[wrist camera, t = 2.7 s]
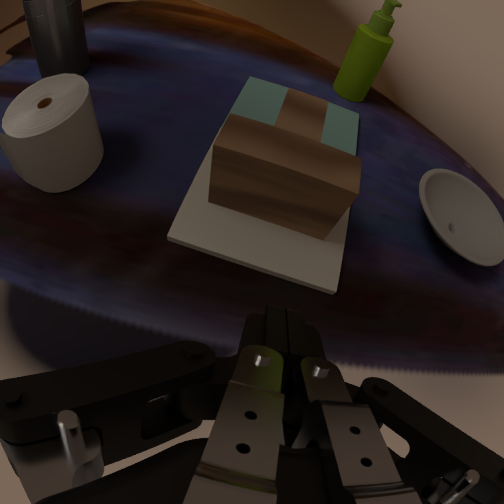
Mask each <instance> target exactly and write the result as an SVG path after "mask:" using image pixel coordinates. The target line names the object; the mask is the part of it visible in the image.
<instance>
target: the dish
mask: <svg viewBox="0 0 504 504" xmlns="http://www.w3.org/2000/svg"><path fill="white" fill-rule="evenodd" d="M419 195H420V200H421V204H422V207H423V209H424V211H425V214H426V216H427V219H428V221H429V223H430V225H431V227H432V229H433V231H434V232H435V234H436V235H437V236H438V238H439V239H440V240H441V241H442V242H443V243H444V244H445V245H446V246H447V247H448V248H449V249H451V250H452V251H453V252H455V253H456V254H458V255H460V256H462V257H464V258H465V259H467V260H469V261H470V262H473V263H475V264H478V265H481V266H494V265H497V264H499V263H500V262H501V261H502V260H503V259H504V222H503V220H502V218H501V216H500V214H499V212H498V210H497V209H496V207H495V206H494V204H493V203H492V201H491V200H490V199H489V198H488V196H487V195H486V194H485V193H484V192H483V191H482V190H481V189H480V188H479V187H478V186H476V185H475V184H474V183H473V182H471V181H470V180H469V179H467V178H466V177H464V176H462V175H460V174H458V173H456V172H453V171H450V170H447V169H433V170H430V171H428V172H426V173H425V174H424V175H423V177H422V178H421V180H420V184H419ZM449 229H450V230H451V231H450V230H449Z"/></svg>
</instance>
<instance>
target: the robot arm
mask: <svg viewBox="0 0 504 504" xmlns="http://www.w3.org/2000/svg"><path fill="white" fill-rule="evenodd" d="M22 3H23V8H24V12H25V17H26V21H27V26H28V30H29V34H30V38H31V42H32V46H33V50H34V53H35V57H36V60H37V64H38V67H39V71H40V74H41V77H42V79H44V78H46V77H51V76H54V75H59V74H64V73H67V74H76V75H79V76H80V75H82V74H83V73H84V72H85V71H86V70H87V69H88V67H89V66H90V59H89V53H88V47H87V41H86V34H85V27H84V20H83V13H82V5H81V0H22ZM322 346H323V345H322V341H321V337H320V333H319V332H318V331H317V330H316V329H315V327H314V326H311V325H306V323H305V318H304V313H303V312H300V311H296V310H291V309H287V308H286V309H285V308H283V307H278V306H274V305H270V304H268V305H267V307H266V310H265V314H264V315H262V314H258V313H251V314H250V315H248V316H247V317H246V321H245V325H244V329H243V333H242V337H241V341H240V344H239V349H238V353H237V354H236V355H234V356H231V357H216V354H215V352H214V351H213V350H212V349H211V348H210V347H208V346H207V345H205V344H202V343H199V342H195V341H180V342H176V343H172V344H168V345H165V346H160V347H157V348H153V349H149V350H145V351H141V352H137V353H133V354H128V355H124V356H120V357H116V358H111V359H107V360H103V361H98V362H93V363H89V364H84V365H80V366H75V367H70V368H65V369H60V370H55V371H50V372H45V373H39V374H34V375H28V376H22V377H17V378H11V379H4V380H0V442H1V445H2V447H3V449H4V451H5V453H6V455H7V457H8V460H9V462H10V464H11V466H12V468H13V469H14V471H15V473H16V475H17V476H18V477H19V478H20V481H21V483H22V485H23V487H24V489H25V492H26V494H27V496H28V498H29V500H30V502H31V504H504V458H502V457H501V456H499V455H498V454H496V453H495V452H493V451H492V450H490V449H488V448H487V447H485V446H484V445H482V444H481V443H479V442H478V441H476V440H475V439H473V438H472V437H470V436H468V435H467V434H466V433H464V432H462V431H461V430H459V429H458V428H456V427H455V426H453V425H452V424H450V423H449V422H447V421H446V420H444V419H443V418H441V417H440V416H438V415H437V414H436V413H434V412H432V411H431V410H430V409H428V408H427V407H425V406H423V405H422V404H421V403H419V402H418V401H416V400H415V399H413V398H412V397H410V396H409V395H408V394H406V393H405V392H403V391H402V390H400V389H399V388H397V387H396V386H395V385H393V384H392V383H390V382H388V381H386V380H384V379H381V378H377V377H370V378H366V379H365V380H364V381H363V382H362V384H361V386H360V387H358V386H355V385H352V384H349V383H347V382H344V379H343V377H342V375H341V372H340V370H339V368H338V367H337V366H336V365H335V364H333V363H332V362H330V361H328V360H326V357H325V353H324V349H323V347H322ZM163 395H164V397H162V398H160V399H157V400H154V401H151V402H149V401H150V400H152V399H154V398H157V397H160V396H163ZM147 402H148V403H147ZM202 420H215V422H214V425H213V428H212V430H211V433H210V436H209V438H199V439H192V440H188V441H184V442H182V443H178V444H176V445H174V446H172V447H170V448H167V449H165V450H163V451H161V452H159V453H157V454H155V455H153V456H151V457H148V458H146V459H144V460H142V461H140V462H137V463H135V464H133V465H131V466H128V467H126V468H124V469H121V470H119V471H117V472H114V473H112V474H109V475H107V476H104V477H102V475H103V472H104V466H106V465H109V464H112V463H114V462H117V461H120V460H122V459H125V458H128V457H131V456H133V455H136V454H138V453H141V452H143V451H146V450H148V449H151V448H153V447H156V446H158V445H160V444H163V443H165V442H167V441H169V440H172V439H174V438H176V437H179V436H181V435H183V434H185V433H187V432H190V431H192V430H194V429H196V428H197V427H199V426H200V425H201V423H202ZM383 423H384V424H385V425H386V426H388V427H389V428H390V429H392V430H393V431H394V432H395V433H397V434H398V435H400V436H401V437H402V438H404V439H405V440H406V441H407V442H408V444H409V446H410V451H409V453H408V455H407V456H406V458H402V457H400V456H399V455H398V454H396V453H395V452H394V451H392V450H391V449H390V448H389V447H387V446H386V443H385V441H384V439H383V436H382V434H381V432H380V428H381V427H382V425H383ZM101 477H102V478H101ZM441 477H442V478H441Z"/></svg>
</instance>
